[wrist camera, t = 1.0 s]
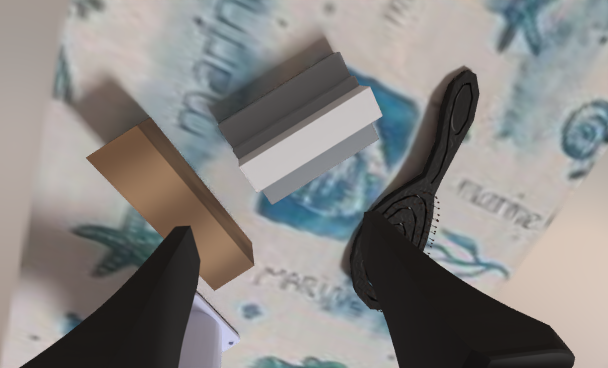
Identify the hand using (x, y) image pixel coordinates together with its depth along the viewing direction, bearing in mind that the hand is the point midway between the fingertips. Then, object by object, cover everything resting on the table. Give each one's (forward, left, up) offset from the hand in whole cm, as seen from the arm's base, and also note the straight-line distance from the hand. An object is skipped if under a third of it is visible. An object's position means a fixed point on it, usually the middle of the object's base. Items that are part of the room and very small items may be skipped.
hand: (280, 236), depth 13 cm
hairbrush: (+11, -12, -15) cm, 22 cm away
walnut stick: (-7, 0, -15) cm, 17 cm away
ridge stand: (+4, 0, -15) cm, 15 cm away
